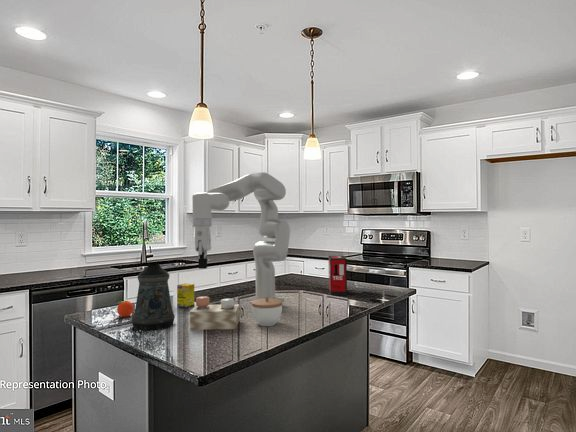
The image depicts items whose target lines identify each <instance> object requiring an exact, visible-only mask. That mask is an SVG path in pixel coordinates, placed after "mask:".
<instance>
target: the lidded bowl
mask: <svg viewBox="0 0 576 432" xmlns="http://www.w3.org/2000/svg"><path fill="white" fill-rule="evenodd" d="M282 311H283V302H282V301H281V300H279V299H272V298H268V297H265V299H257V300H256V299H254V300H252V301H251V313H252V316H253V319H254V320H255V322H257V324H258V325H259V326H261V327H272V326H276V325H277V323H278V322H279V320H280V319H281V316H282Z"/></svg>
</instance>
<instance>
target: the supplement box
mask: <svg viewBox="0 0 576 432" xmlns="http://www.w3.org/2000/svg"><path fill="white" fill-rule="evenodd" d="M176 286H177V287H176V289H177V291H176V292H177V293H176V295H177V296H176V297H177V298H176V299H177V300H176V301H177V304H176V305H177V308H183V309H189V308H192V307H195V284H194V283H186V282H185V283H180V284H176Z"/></svg>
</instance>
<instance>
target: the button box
mask: <svg viewBox="0 0 576 432" xmlns="http://www.w3.org/2000/svg"><path fill="white" fill-rule="evenodd" d="M239 322H240V304H239V303H237V304H236V303H234V308H232V309H223V308H221V304H209V306H207V309H205V310H198V306H196V305H194V306H193V308H192V309H190V311H189V330H190V331H191V330H193V331H194V330H195V331H199V330H200V331H201V330H236V329H237V328H238V325H239Z"/></svg>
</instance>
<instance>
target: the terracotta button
mask: <svg viewBox="0 0 576 432" xmlns="http://www.w3.org/2000/svg"><path fill="white" fill-rule="evenodd" d="M209 305H210V297H209V296H206V295H205V296H197V297H196V298H195V306H198V310H205V309H207V306H209Z"/></svg>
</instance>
